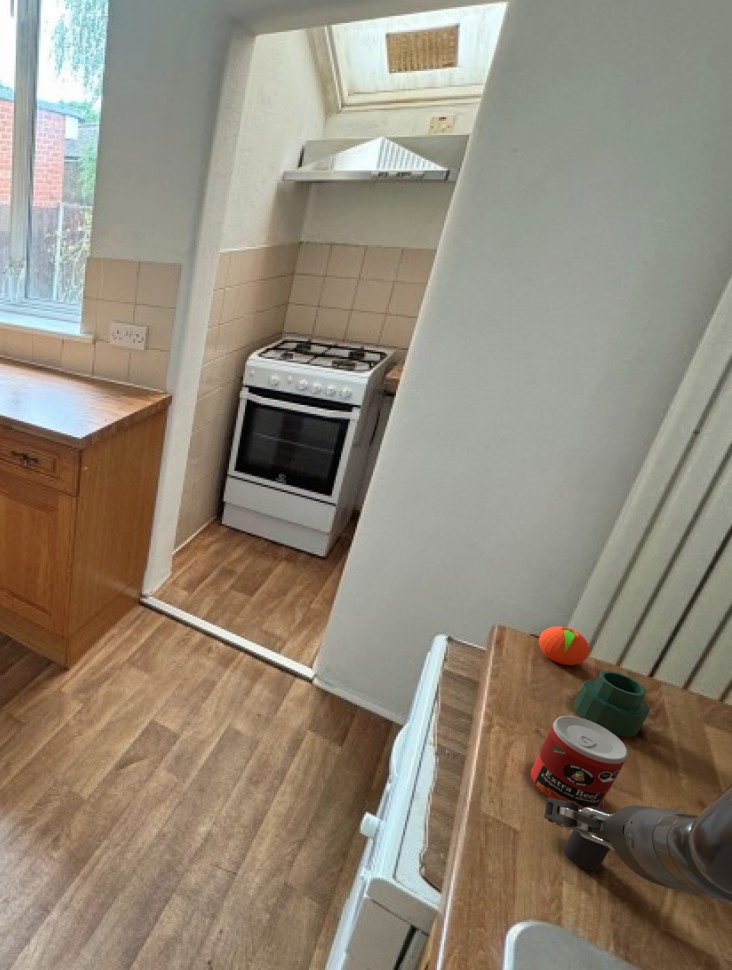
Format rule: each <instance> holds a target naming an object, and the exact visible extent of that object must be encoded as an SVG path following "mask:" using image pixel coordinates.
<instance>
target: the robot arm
mask: <svg viewBox="0 0 732 970" xmlns="http://www.w3.org/2000/svg"><path fill="white" fill-rule="evenodd" d="M544 810H545V811H544V813H543V819H546V820H547V821H548V822H549V823H555V825H557V826H559V827H560V828H564V829H566V830H569V831H571V830H572V831H573V830H574V831H577V832H580V834H581V836H582V837H584V838H586V839H588V840H590V841H593V842H596V843H598V844H601V845H604V846H607V847H609V848H610V850H612V851H613V852H615V853H616V855H617V856H618V858H619V859H620V860H621V861H622V862H623V863H624V864H625V866H627V867H628V868H629V869H630V870H631V871H633V872H634V873H635V874H637V875H638V876H639V877H641V878H643V879H644V880H647V881H648V882H650V883H653V884H654V885H658V886H660V887H663V888H664V887H665V888H667V889H670V890H674V891H678V892H680V893H684V894H687V895H690V896H694V897H698V898H702V899H707V900H716V901H718V902H719V901H720V902H722V903H726V904H729V905H732V784H730V786H729V787H727V788H726V789H725V790H724V791H723V792H722V793H721V794H719V795H718V796H717V797H716V798H714V800H712V801H711V802H710V803H709V804H708V805H707V806H706V807H705V808H703V810H702V811H701V812H700V813H699V814H692V813H689V812H686V811H682V810H678V809H670V808H664V807H663V808H662V807H654V806H647V805H646V806H645V805H628V806H624V807H622V808H619V809H618V810H616V811H615V812H614V813H610V814H611V815H608V814H605V813H602V812H599V811H596V810H592V809H589V808H583V809H582V810H579V806H578V805H576V804H575V803H573V802H571V801H569V802H568V801H563V800H557V799H552V798H547V797H545V809H544ZM578 822H579V823H581V826H580V827H578ZM596 835H598V836H599V837H601V838H603V839H605V840H603V839H600V838H597V836H596Z"/></svg>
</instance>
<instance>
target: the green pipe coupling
mask: <svg viewBox="0 0 732 970" xmlns="http://www.w3.org/2000/svg"><path fill="white" fill-rule="evenodd" d="M647 691H648V690H647V688H645V686H643V684H642V683H640V682H639V681H637V680H636V679H634V678H632V677H630V676H628V675H625V674H623V673H621V672H617V671H612V670H601V671H600V673H599V675H598V677H597V679H595V678H594V679H593V678H590V679H588V680H585V681H584V682H583V684H582V686H581V687H580V690H579V692H578V694H577V696H576V698H575V700H574V702H573V708H574V710H575V712H576V713H577V714H578V715H579V716H580V718H583V719H586V720H589V721H591V722H594V723H596V724H598V725H600V726H602V727H603V728H605V729H607V730H608V731H610V732H611V733H613V734H614V735H615V736H620V737H627V738H628V737H629V738H631V737H634V736H636V735H638V733H639V731H640V730H641V728H642V726H643V725H644V723H645V721H646V720H647V718H648V715H649V713H650V710H651V709H650V707H649V705H648V704H647V703H646V701H644V699H645V697H646V695H647Z"/></svg>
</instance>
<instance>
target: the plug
mask: <svg viewBox="0 0 732 970" xmlns="http://www.w3.org/2000/svg"><path fill="white" fill-rule="evenodd" d="M586 808H589V809H592V810H596V811H599V812H602V813H605V814H608V815H611V814H612V813H611V812H609V811H607V810H604V809H603V808H600V807H599V808H598V807H594V806H588V807H586ZM580 826H581V823H579V822H578V827H580ZM596 836H597V838H600V839H603V838H601V837H599V836H598V835H596ZM603 840H605V839H603ZM610 850H611V849H610V848H609V847H607V846H604V845H601V844H598V843H596V842H593V841H590V840H588V839H586V838H584V837H582V836H581V834H580V832H577V831H574V830H572V832H571V834H570V836H569V837H568V839H567V841H566V843H565V845H564V847H563V852H564V854H565V856H566V857H567V859H568V860H569V861H571V862H572V863H573V864H575V865H576V866H577V867H579V868H581V869H583V870H585V871H589V872H596V871H598V870H599V869H600V866H601V865H602V863H603V861H604V860H605V859H606V857H607V855H608V853H609V852H610Z"/></svg>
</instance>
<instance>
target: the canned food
mask: <svg viewBox="0 0 732 970" xmlns="http://www.w3.org/2000/svg"><path fill="white" fill-rule="evenodd" d="M628 755H629V751H628V749H627V746H626V745H625V743H624V742H623V741H622V740H621V739H620V738H619V737H618V735H615V734H613V733H611V732H610V731H608V730H607V729H605V728H603V727H602V726H600V725H598V724H596V723H594V722H591V721H589V720H586V719H584V718H582V717H579V716H573V715H562V716H558V717H557V718H556V719H555V720H554V721H553V723H552V725H551V727H550V729H549V731H548V733H547V736H546V738H545V740H544V742H543V744H542V746H541V748H540V750H539V752H538V755H537V757H536V759H535V761H534V763H533V765H532V768H531V770H530V778H531V781H532V783H533V785H534V787H535V788H536V789H537V790H538V791H539V792H540V793H541V794H542V795H543V796H544V797H545V798H552V799H557V800H563V801H568V802H569V801H571V802H573V803H575V804H576V805H578V806H579V810H582V809H583V808H586V807H588V806H594V807H598V808H600V807H601V805H602V804H603V802H604V800H605V798H606V797H607V795H608V793H609V791H610V789H611V788H612V787H613V784H614V782H615V781H616V779H617V777H618V775H619V773H620V772H621V770H622V768H623V766H624V764H625V762H626V761H627V758H628Z"/></svg>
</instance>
